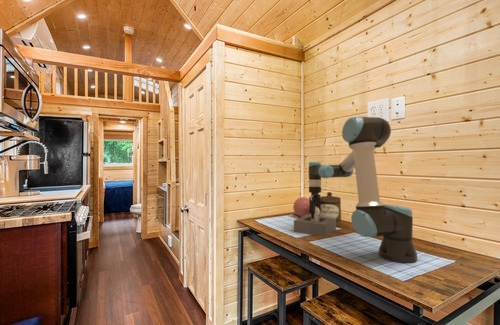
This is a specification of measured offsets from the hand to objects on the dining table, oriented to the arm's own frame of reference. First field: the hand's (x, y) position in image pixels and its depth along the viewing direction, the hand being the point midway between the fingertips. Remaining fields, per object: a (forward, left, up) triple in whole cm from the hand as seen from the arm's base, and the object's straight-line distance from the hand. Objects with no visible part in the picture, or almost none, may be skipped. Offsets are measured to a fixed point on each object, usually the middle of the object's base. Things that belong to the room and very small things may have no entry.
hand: (315, 222), depth 161 cm
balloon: (+31, +20, -5) cm, 37 cm away
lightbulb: (0, 0, -1) cm, 1 cm away
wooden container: (+23, -2, -5) cm, 24 cm away
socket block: (0, 0, -5) cm, 5 cm away
